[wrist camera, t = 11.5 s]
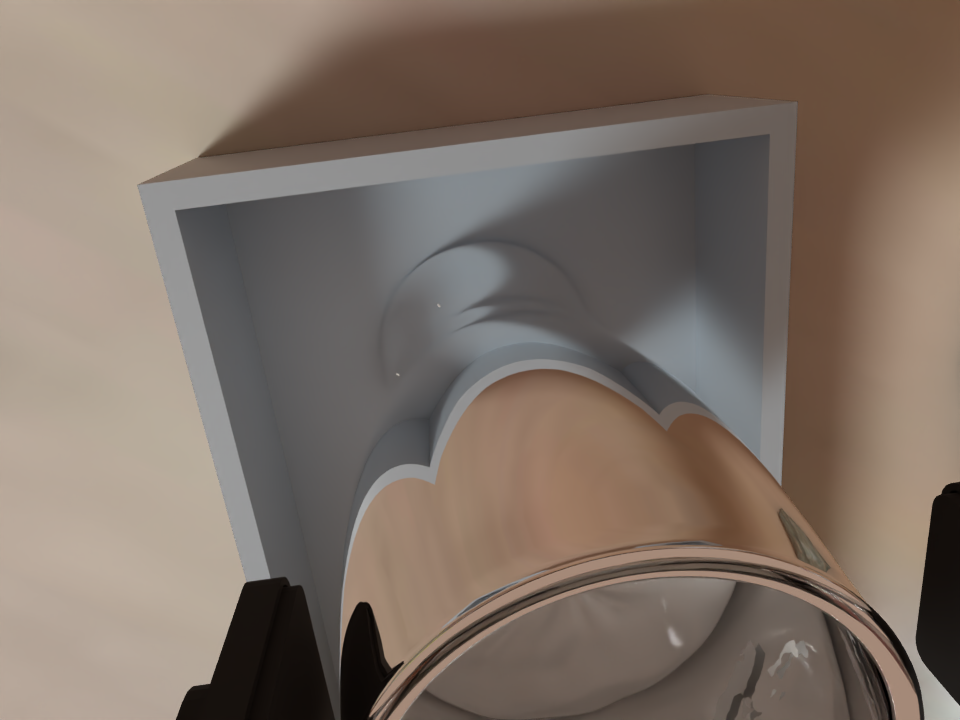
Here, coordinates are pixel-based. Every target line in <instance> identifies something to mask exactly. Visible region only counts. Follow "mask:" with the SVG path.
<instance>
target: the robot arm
mask: <svg viewBox="0 0 960 720" xmlns="http://www.w3.org/2000/svg"><path fill="white" fill-rule="evenodd" d="M916 646H917V650H918V653H919V655H920V657H921V659H922V661H923V663H924V664H925V665H926V667H927V668H928V669H929V670H930V671H931V673H932V674H933V675H934V676H935V677H936V678H937V680H938V681H939V682H940V683H941V684H942V685H943V687H944V688H945V689H946V690H947V691H948V692H949V694H950V695H951V696H952V697H953V698H954V700H955V701H956V702H957V703H958V704H959V705H960V482H956V483H950V484H948V485H946V486H945V488H944V489H943V490H942V494H941V495H939V496H936V498H935V499H934V501H933V505H932V513H931V521H930V528H929V536H928V544H927V552H926V560H925V568H924V576H923V584H922V592H921V599H920V607H919V615H918V623H917V631H916ZM176 720H335V717H334V713H333V709H332V705H331V700H330V696H329V692H328V688H327V684H326V680H325V676H324V671H323V667H322V663H321V659H320V655H319V651H318V646H317V642H316V638H315V634H314V630H313V626H312V622H311V617H310V613H309V609H308V605H307V601H306V597H305V593H304V589H303V587H302V586H301V585H295V586H290V583H289V581H288V579H287V578H286V577H278V578H271V579H264V580H256V581H249V582H246V583H245V584H244V586H243V589H242V591H241V594H240V597H239V600H238V603H237V606H236V609H235V612H234V615H233V618H232V621H231V624H230V627H229V630H228V633H227V636H226V639H225V642H224V645H223V648H222V651H221V654H220V657H219V660H218V663H217V665H216V668H215V671H214V674H213V677H212V680H211V683H210V684H206V685H199V686H193V687H192V688H191V689H190V690H189V691H188V692H187V694H186V696H185V698H184V700H183V702H182V705H181V707H180V710H179V713H178V715H177V718H176Z"/></svg>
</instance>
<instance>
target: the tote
mask: <svg viewBox="0 0 960 720" xmlns="http://www.w3.org/2000/svg"><path fill="white" fill-rule="evenodd" d="M797 110H798V102H797V101H784V100H772V99H759V98H747V97H734V96H722V95H710V94H706V95H698V96H690V97H682V98H674V99H666V100H658V101H650V102H642V103H634V104H626V105H618V106H610V107H602V108H594V109H586V110H578V111H570V112H562V113H554V114H546V115H538V116H530V117H522V118H514V119H506V120H498V121H490V122H482V123H474V124H466V125H458V126H450V127H442V128H434V129H426V130H417V131H409V132H401V133H393V134H385V135H377V136H369V137H361V138H353V139H345V140H337V141H329V142H321V143H313V144H305V145H297V146H289V147H281V148H273V149H265V150H257V151H249V152H241V153H233V154H225V155H217V156H209V157H201V158H195V159H193V160H191V161H189V162H187V163H184V164H182V165H180V166H178V167H176V168H173V169H171V170H169V171H167V172H165V173H162V174H160V175H158V176H156V177H154V178H151V179H149V180H147V181H145V182H143V183H140V184H138V185H137V186H138V189H139V193H140V196H141V200H142V204H143V207H144V211H145V215H146V218H147V222H148V226H149V229H150V233H151V236H152V240H153V244H154V247H155V251H156V255H157V258H158V262H159V265H160V269H161V273H162V276H163V280H164V284H165V287H166V291H167V295H168V298H169V302H170V305H171V309H172V313H173V316H174V320H175V324H176V327H177V331H178V334H179V338H180V342H181V345H182V349H183V353H184V356H185V360H186V363H187V367H188V371H189V374H190V378H191V382H192V385H193V389H194V393H195V396H196V400H197V403H198V407H199V411H200V414H201V418H202V422H203V425H204V429H205V432H206V436H207V440H208V443H209V447H210V451H211V454H212V458H213V462H214V465H215V469H216V472H217V476H218V480H219V483H220V487H221V491H222V494H223V498H224V501H225V505H226V509H227V512H228V516H229V520H230V523H231V527H232V531H233V534H234V538H235V541H236V545H237V549H238V552H239V556H240V560H241V563H242V567H243V570H244V574H245V578H246V581H247V582H249V581H256V580H264V579H271V578H278V577H286V578H287V579H288V581H289V583H290V586H295V585H301V586H302V587H303V589H304V593H305V597H306V601H307V605H308V609H309V613H310V617H311V622H312V626H313V630H314V634H315V638H316V642H317V646H318V651H319V655H320V659H321V663H322V667H323V671H324V676H325V680H326V684H327V688H328V692H329V696H330V700H331V705H332V709H333V713H334V717H335V720H340V696H339V609H340V589H341V570H342V556H343V549H344V543H345V536H346V530H347V523H348V517H349V511H350V504H351V498H352V494H353V489H354V486H355V482H356V479H357V476H358V473H359V470H360V467H361V464H362V461H363V458H364V455H365V452H366V449H367V446H368V443H369V440H370V437H371V435H372V432H373V430H374V428H375V425H376V423H377V421H378V419H379V416H380V414H381V412H382V410H383V408H384V405H385V403H386V401H387V399H388V397H389V395H390V393H391V391H392V390H391V388H390V385H389V383H388V380H387V377H386V374H385V370H384V366H383V361H382V355H381V330H382V325H383V320H384V317H385V314H386V311H387V308H388V306H389V304H390V302H391V300H392V298H393V296H394V294H395V293H396V291H397V290H398V288H399V287H400V285H401V284H402V283H403V282H404V280H405V279H406V278H407V277H408V276H409V275H410V274H411V273H412V272H413V271H414V270H415V269H416V268H417V267H418V266H420V265H421V264H422V263H423V262H425V261H426V260H428V259H429V258H431V257H433V256H434V255H436V254H438V253H440V252H442V251H445V250H447V249H449V248H452V247H455V246H459V245H462V244H467V243H473V242H484V241H493V242H504V243H510V244H514V245H518V246H521V247H524V248H527V249H529V250H532V251H534V252H536V253H538V254H540V255H542V256H543V257H545V258H546V259H548V260H549V261H551V262H552V263H553V264H554V265H556V266H557V267H558V268H559V269H560V270H561V271H562V272H563V273H564V274H565V275H566V276H567V278H568V279H569V280H570V281H571V283H572V284H573V286H574V287H575V289H576V291H577V292H578V294H579V296H580V298H581V300H582V302H583V305H584V307H585V310H586V314H587V317H588V321H589V324H590V325H592V326H594V327H596V328H598V329H600V330H602V331H604V332H606V333H608V334H610V335H612V336H613V337H615V338H617V339H619V340H621V341H623V342H625V343H627V344H628V345H630V346H632V347H634V348H635V349H637V350H638V351H640V352H641V353H643V354H644V355H646V356H647V357H649V358H650V359H652V360H653V361H654V362H656V363H657V364H659V365H660V366H662V367H663V368H665V369H666V370H668V371H669V372H671V373H672V374H674V375H675V376H676V377H678V378H679V379H680V380H681V381H683V382H684V383H685V384H686V385H687V386H688V387H689V388H691V389H692V390H693V391H694V392H695V393H696V394H697V395H698V396H699V397H700V398H701V399H702V400H703V401H704V402H705V403H706V404H707V405H708V406H710V407H711V408H712V409H713V410H714V411H715V412H716V413H717V414H718V415H719V416H720V417H721V418H722V419H723V420H724V421H725V422H726V423H727V424H728V425H729V426H730V427H731V428H732V429H733V430H734V431H735V432H736V433H737V435H738V436H739V437H740V438H741V439H742V440H743V442H744V443H745V444H746V445H747V446H748V447H749V449H750V450H751V451H752V452H753V453H754V454H755V456H756V457H757V458H758V459H759V460H760V461H761V463H762V464H763V465H764V466H765V467H766V468H767V470H768V471H769V472H770V473H771V474H772V475H773V477H774V478H775V479H776V480H777V482H778V483H779V484H780V486H781V480H782V457H783V434H784V411H785V388H786V364H787V341H788V318H789V295H790V272H791V249H792V225H793V202H794V179H795V156H796V133H797Z"/></svg>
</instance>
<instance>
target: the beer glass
mask: <svg viewBox="0 0 960 720" xmlns="http://www.w3.org/2000/svg"><path fill="white" fill-rule="evenodd" d="M381 355H382V361H383V366H384V370H385V374H386V377H387V380H388V383H389V385H390V388H391V390H392V391H391V393H390V395H389V397H388V399H387V401H386V403H385V405H384V408H383V410H382V412H381V414H380V416H379V419H378V421H377V423H376V425H375V428H374V430H373V432H372V435H371V437H370V440H369V443H368V446H367V449H366V452H365V455H364V458H363V461H362V464H361V467H360V470H359V473H358V476H357V479H356V482H355V486H354V489H353V494H352V498H351V504H350V511H349V517H348V523H347V530H346V536H345V543H344V549H343V556H342V570H341V589H340V609H339V696H340V720H924V707H923V700H922V694H921V690H920V686H919V682H918V679H917V676H916V673H915V670H914V668H913V665H912V663H911V661H910V659H909V657H908V655H907V653H906V651H905V649H904V647H903V646H902V644H901V642H900V641H899V639H898V638H897V636H896V635H895V633H894V632H893V631H892V629H891V628H890V627H889V625H888V624H887V623H886V622H885V621H884V620H883V619H882V617H881V616H880V615H879V614H878V613H877V612H876V611H875V610H874V609H873V608H872V607H871V606H869V605H868V604H867V603H866V601H865V600H864V599H863V597H862V596H861V595H860V593H859V592H858V591H857V589H856V588H855V587H854V585H853V584H852V583H851V581H850V580H849V579H848V577H847V576H846V575H845V573H844V572H843V570H842V569H841V568H840V566H839V565H838V563H837V562H836V560H835V559H834V558H833V556H832V555H831V553H830V552H829V551H828V549H827V548H826V546H825V545H824V544H823V542H822V541H821V539H820V538H819V537H818V535H817V534H816V532H815V531H814V530H813V528H812V527H811V526H810V524H809V523H808V522H807V520H806V519H805V518H804V516H803V515H802V514H801V512H800V511H799V510H798V508H797V507H796V506H795V504H794V503H793V502H792V500H791V499H790V498H789V496H788V495H787V494H786V492H785V491H784V490H783V488H782V487H781V486H780V484H779V483H778V482H777V480H776V479H775V478H774V477H773V475H772V474H771V473H770V472H769V471H768V470H767V468H766V467H765V466H764V465H763V464H762V463H761V461H760V460H759V459H758V458H757V457H756V456H755V454H754V453H753V452H752V451H751V450H750V449H749V447H748V446H747V445H746V444H745V443H744V442H743V440H742V439H741V438H740V437H739V436H738V435H737V433H736V432H735V431H734V430H733V429H732V428H731V427H730V426H729V425H728V424H727V423H726V422H725V421H724V420H723V419H722V418H721V417H720V416H719V415H718V414H717V413H716V412H715V411H714V410H713V409H712V408H711V407H710V406H708V405H707V404H706V403H705V402H704V401H703V400H702V399H701V398H700V397H699V396H698V395H697V394H696V393H695V392H694V391H693V390H692V389H691V388H689V387H688V386H687V385H686V384H685V383H684V382H683V381H681V380H680V379H679V378H678V377H676V376H675V375H674V374H672V373H671V372H669V371H668V370H666V369H665V368H663V367H662V366H660V365H659V364H657V363H656V362H654V361H653V360H652V359H650V358H649V357H647V356H646V355H644V354H643V353H641V352H640V351H638V350H637V349H635V348H634V347H632V346H630V345H628V344H627V343H625V342H623V341H621V340H619V339H617V338H615V337H613V336H612V335H610V334H608V333H606V332H604V331H602V330H600V329H598V328H596V327H594V326H592V325H590V324H589V321H588V317H587V314H586V310H585V307H584V305H583V302H582V300H581V298H580V296H579V294H578V292H577V291H576V289H575V287H574V286H573V284H572V283H571V281H570V280H569V279H568V278H567V276H566V275H565V274H564V273H563V272H562V271H561V270H560V269H559V268H558V267H557V266H556V265H554V264H553V263H552V262H551V261H549V260H548V259H546V258H545V257H543V256H542V255H540V254H538V253H536V252H534V251H532V250H529V249H527V248H524V247H521V246H518V245H514V244H510V243H504V242H493V241H484V242H473V243H467V244H462V245H459V246H455V247H452V248H449V249H447V250H445V251H442V252H440V253H438V254H436V255H434V256H433V257H431V258H429V259H428V260H426V261H425V262H423V263H422V264H421V265H420V266H418V267H417V268H416V269H415V270H414V271H413V272H412V273H411V274H410V275H409V276H408V277H407V278H406V279H405V280H404V282H403V283H402V284H401V285H400V287H399V288H398V290H397V291H396V293H395V294H394V296H393V298H392V300H391V302H390V304H389V306H388V308H387V311H386V314H385V317H384V320H383V325H382V330H381Z"/></svg>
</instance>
